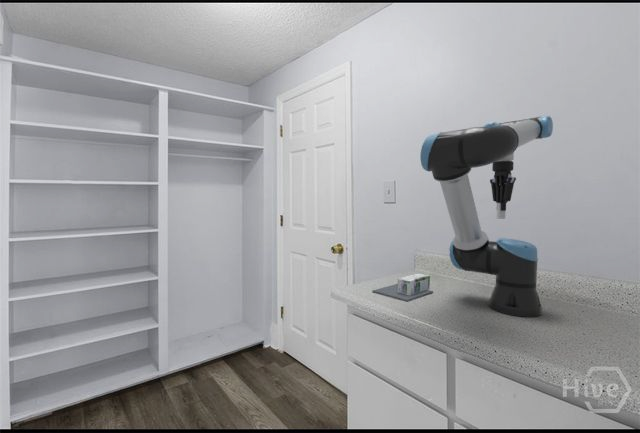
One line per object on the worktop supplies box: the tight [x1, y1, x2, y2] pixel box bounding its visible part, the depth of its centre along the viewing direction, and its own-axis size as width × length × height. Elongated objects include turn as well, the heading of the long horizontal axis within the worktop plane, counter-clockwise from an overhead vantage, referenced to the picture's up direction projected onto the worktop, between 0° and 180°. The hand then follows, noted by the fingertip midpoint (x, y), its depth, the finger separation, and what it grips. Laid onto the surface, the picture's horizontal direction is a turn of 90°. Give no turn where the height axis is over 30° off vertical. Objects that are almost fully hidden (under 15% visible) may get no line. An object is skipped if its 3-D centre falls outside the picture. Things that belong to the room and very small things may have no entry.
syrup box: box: [397, 273, 431, 296], centre depth 127 cm, size 6×6×14 cm
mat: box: [372, 283, 434, 303], centre depth 128 cm, size 18×16×1 cm
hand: (500, 218), depth 133 cm, fingers closed
